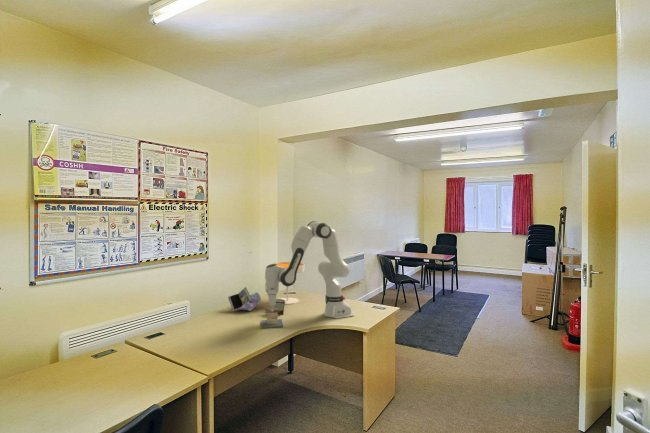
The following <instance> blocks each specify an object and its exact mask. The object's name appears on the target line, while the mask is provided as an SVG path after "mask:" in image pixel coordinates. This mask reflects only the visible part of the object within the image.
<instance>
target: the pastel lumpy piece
mask: <svg viewBox="0 0 650 433" xmlns="http://www.w3.org/2000/svg"><path fill="white" fill-rule="evenodd" d="M227 298H228V299H227V300H228V302H229V303H230V307H231V309H232V312H235V311H249V312H251V311H253V310H254V309H255V308H256V307H257V304H259V303H260V302H261V300H262V299H261V295H260V293H259V292H254V293H253V294H250V292H249V290H248V289H247V287H246V286H245V287H244V288H242V289H241V290H240V291H239V292H238V293H237V294H236V293H235V294H233V295H230V296H228V297H227Z"/></svg>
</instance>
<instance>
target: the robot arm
mask: <svg viewBox="0 0 650 433" xmlns="http://www.w3.org/2000/svg"><path fill="white" fill-rule="evenodd" d="M336 232H337V231H336V230H335V229H334V228H331V227H330V225H329V224H328V223H326V222H323V221H316V220H313V221H310V222H309V223H308V224H306V225H305V224H303V225H301V226H300V227H299V229H298V230H297V232H296V233H295V235H294V237H293V239H292V241H291V245H290V247H291V248H290V249H291V252H292V257H291V259H290V261H289V262H290V264H289V266H288V268H283V267H281V266H279V265H277V264H272V263H270V264H268V265H267V266H266V267H265V271H264V272H265V273H264V275H265V277H264V279H265V286H264V287H265V292H266V295H268V296H267V297H268V304H269V307H270V306H271V311H274V306H275V304H276V299H277V295H278V292H279V291H280V285H279V284H280V283H281V285H282V286H285V287H287V286H288V287H292V285H294V284H295V282H296V280H297V274H298V273H297V270H298V268H299V265H300V263H302V260H303V257H304V255H305V252H306V250H308V247H309V244H310V243H311V240H312V238H320V239H322V248H323V255H324V257H326V258H327V259H328V260H324V261H320V262H319V263H318V266H317V268H318V273H319V274H320V275H321V276H322V277H323V278H322V279H323V281H324V284H325V295H324V296H325V301H324V302H325V306H324V307H325V309H324V312H323V315H324V316H325V317H327V318H332V319H341V318H349V317H350V316H351V317H354V316H355V312H354V311H353V310H352V307H351V305H350V304H349V303H348V302H346V301H345V300H346V296H344V295H342V285H341V282H339V281H338V279H339V278H340V279H343V278H347V277H348V276H349V275H350V271H351V270H350V266H349V264H347V263H346V262H345V261H344V259H343V257H342V255H341V252H340V249H339V248H340V247H339V240H338V235H337V233H336ZM337 278H338V279H337ZM351 317H350V318H351Z"/></svg>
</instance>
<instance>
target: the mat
mask: <svg viewBox="0 0 650 433" xmlns="http://www.w3.org/2000/svg"><path fill="white" fill-rule="evenodd" d="M260 322H261V323H260V328H261V330H263V329H277V328H278V329H279V328H284V324H283V319H282V318H279V319H278V324H267V319H261V321H260Z"/></svg>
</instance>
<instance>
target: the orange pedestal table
mask: <svg viewBox="0 0 650 433" xmlns="http://www.w3.org/2000/svg"><path fill="white" fill-rule="evenodd" d="M290 262H291V261H280V262H273V263H271V264H277V265H279V266H281V267H283V268H288V266H289V264H290ZM305 267H306V265H305V263H304V262H301V263H300V265H299V268H298V270H297V273H296V274H300V273H304V272H305V271H306V268H305ZM279 299H282V300H285V305H286V306H287V305H289V306H290V305H295V304H298V303H299V302H300V300H299V298H295V297H289V286H286V297H281V298H279ZM285 305H284V306H285Z"/></svg>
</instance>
